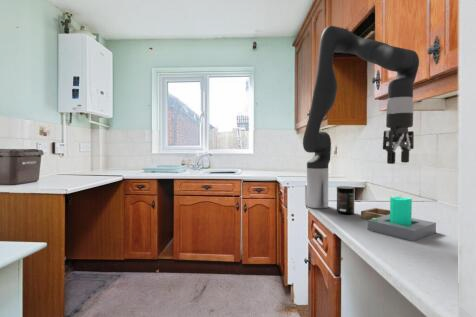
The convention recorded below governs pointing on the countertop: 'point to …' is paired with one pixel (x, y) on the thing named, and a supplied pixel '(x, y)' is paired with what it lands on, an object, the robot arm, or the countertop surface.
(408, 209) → the candle
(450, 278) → the countertop surface
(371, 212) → the holder ring
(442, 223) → the countertop surface
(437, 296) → the countertop surface
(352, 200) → the supplement container
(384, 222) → the frame
